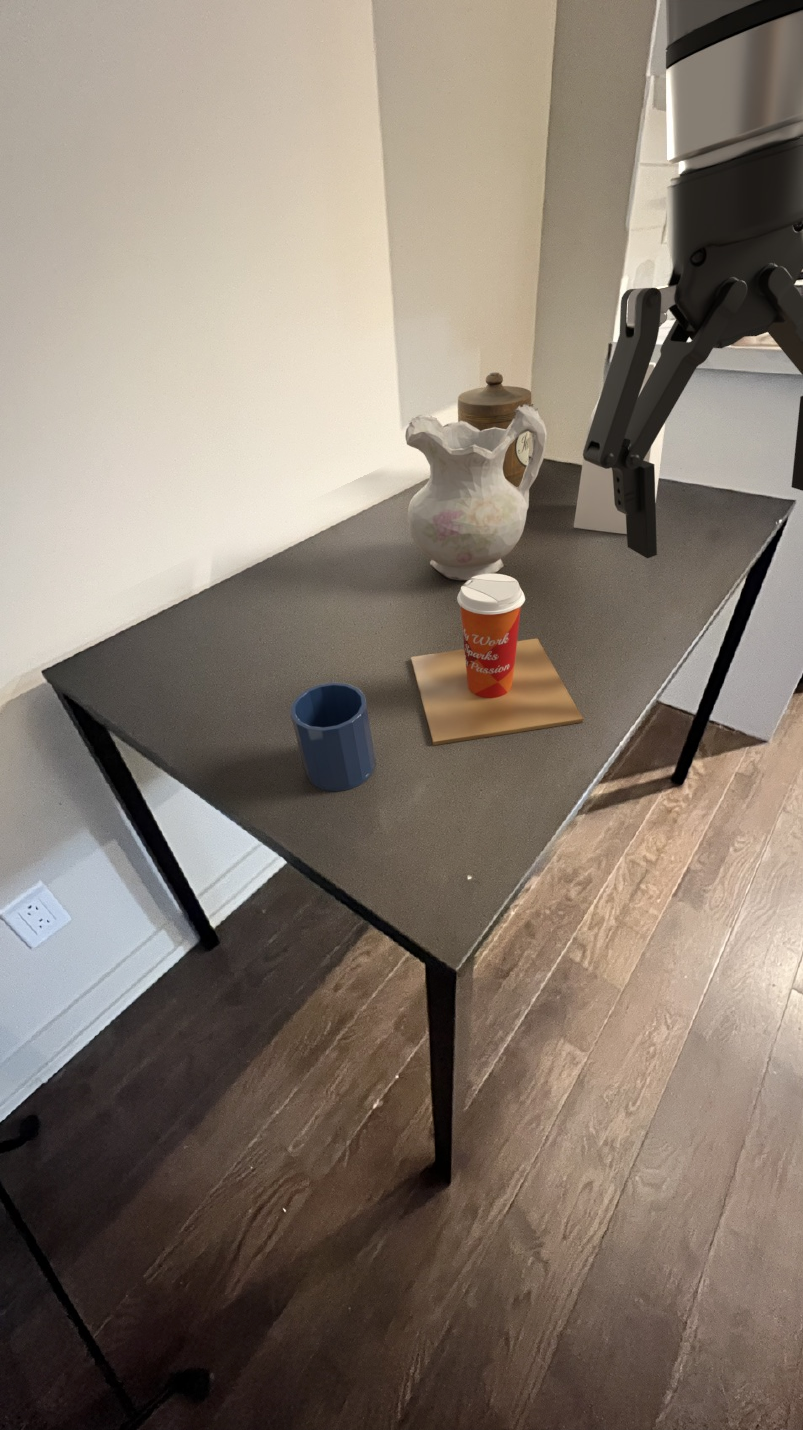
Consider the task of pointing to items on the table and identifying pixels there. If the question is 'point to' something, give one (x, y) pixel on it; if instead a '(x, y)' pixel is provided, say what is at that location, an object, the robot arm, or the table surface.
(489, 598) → the paper cup
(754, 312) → the robot arm
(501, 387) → the wooden container
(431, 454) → the ceramic pitcher
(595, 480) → the milk
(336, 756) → the blue cup
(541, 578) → the table surface
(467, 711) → the wooden board
